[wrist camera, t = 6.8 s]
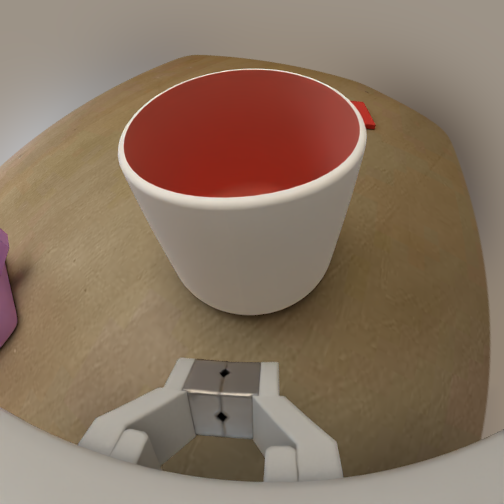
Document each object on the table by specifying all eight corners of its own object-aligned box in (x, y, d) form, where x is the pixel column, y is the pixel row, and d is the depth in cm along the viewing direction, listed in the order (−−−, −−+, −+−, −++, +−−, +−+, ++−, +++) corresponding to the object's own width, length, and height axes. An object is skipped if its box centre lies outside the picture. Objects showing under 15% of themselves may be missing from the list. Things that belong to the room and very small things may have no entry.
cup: (334, 322, 16) (400, 210, 7) (165, 317, 17) (77, 211, 8) (321, 193, 21) (340, 71, 13) (191, 193, 22) (158, 77, 13)
